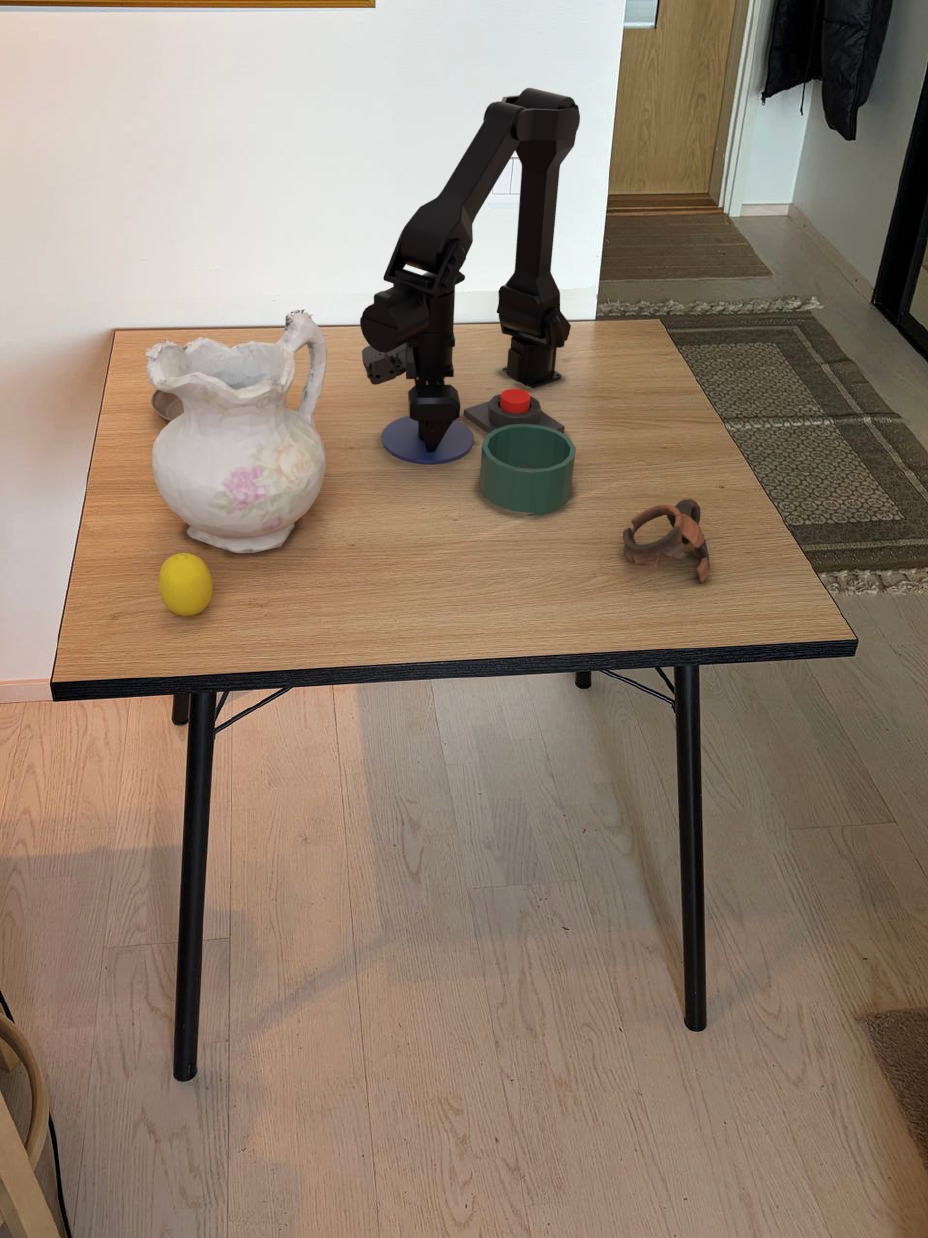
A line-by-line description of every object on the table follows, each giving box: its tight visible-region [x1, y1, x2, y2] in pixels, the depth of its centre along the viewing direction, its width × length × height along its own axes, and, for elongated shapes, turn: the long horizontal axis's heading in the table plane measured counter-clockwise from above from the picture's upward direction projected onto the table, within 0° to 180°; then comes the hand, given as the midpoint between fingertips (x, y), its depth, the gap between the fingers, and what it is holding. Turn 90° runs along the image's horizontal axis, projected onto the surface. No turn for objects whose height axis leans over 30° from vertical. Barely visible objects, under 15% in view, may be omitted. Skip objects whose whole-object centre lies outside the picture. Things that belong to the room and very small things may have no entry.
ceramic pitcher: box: [143, 309, 328, 554], centre depth 132 cm, size 22×20×25 cm
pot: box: [479, 424, 577, 517], centre depth 145 cm, size 11×11×6 cm
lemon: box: [158, 552, 214, 617], centre depth 123 cm, size 6×6×8 cm
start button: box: [500, 388, 531, 413], centre depth 157 cm, size 4×4×2 cm
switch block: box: [462, 393, 565, 435], centre depth 159 cm, size 9×11×4 cm
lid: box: [381, 415, 474, 465], centre depth 154 cm, size 12×12×5 cm
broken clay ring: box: [622, 498, 711, 583], centre depth 136 cm, size 12×10×8 cm
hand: (427, 433), depth 154 cm, fingers open, 9 cm apart
